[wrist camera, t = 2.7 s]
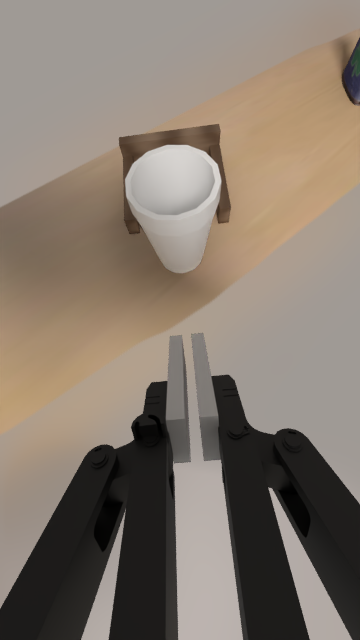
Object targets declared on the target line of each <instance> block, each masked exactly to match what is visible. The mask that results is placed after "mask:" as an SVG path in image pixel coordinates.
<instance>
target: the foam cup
mask: <svg viewBox="0 0 360 640" xmlns="http://www.w3.org/2000/svg"><path fill="white" fill-rule="evenodd" d="M221 182H222V181H221V177H220V172H219V168H218V164H217V163H216V162H215V161H214V160H213V159H212V158H211V157H210V156H209V155H208V154H207V153H206V152H204V151H202V150H199V149H197V148H194V147H191V146H189V145H165V146H162V147H159V148H157V149H154V150H151V151H148V152H146V153H145V154H144V155H143V156H142V157H140V158H139V159H138V160H137V161H135V162H134V163H133V164H132V166H131V168H130V170H129V172H128V174H127V176H126V178H125V187H126V197H127V200H128V203H129V206H130V209H131V211H132V214H133V215H134V217H135V218H136V219H137V221H138V222H139V223H140V225H141V226H142V228H143V230H144V232H145V234H146V235H147V237H148V239H149V241H150V243H151V244H152V246H153V248H154V250H155V252H156V254H157V255H158V257H159V259H160V260H161V262H162V264H163V265H164V266H165V268H166V269H168V270H170V271H172V272H174V273H186V272H189V271H192V270H194V269H195V268H196V267H197V266H198V265H199V264H200V263H201V260H202V257H203V254H204V250H205V247H206V243H207V239H208V235H209V231H210V228H211V224H212V220H213V216H214V215H215V212H216V209H217V206H218V203H219V200H220V192H221Z"/></svg>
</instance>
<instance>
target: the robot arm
mask: <svg viewBox="0 0 360 640" xmlns="http://www.w3.org/2000/svg"><path fill="white" fill-rule="evenodd" d="M191 337H192V348H193V358H194V368H195V379H196V387H197V388H196V389H197V399H198V409H199V419H200V428H201V438H202V447H203V456H204V461H208V460H221V463H222V478H223V483H224V490H225V499H226V506H227V514H228V522H229V530H230V538H231V546H232V554H233V562H234V569H235V577H236V586H237V593H238V602H239V610H240V618H241V625H242V634H243V640H310V639H309V635H308V632H307V628H306V625H305V621H304V617H303V614H302V610H301V606H300V603H299V599H298V595H297V591H296V588H295V585H294V581H293V577H292V573H291V570H290V566H289V562H288V559H287V555H286V551H285V548H284V544H283V540H282V537H281V533H280V529H279V526H278V522H277V518H276V515H275V511H274V508H273V504H272V500H271V496H270V493H269V490H268V487H269V488H272V489H273V491H274V492H275V494H276V496H277V498H278V500H279V502H280V504H281V506H282V508H283V510H284V511H285V513H286V515H287V517H288V519H289V521H290V523H291V524H292V527H293V528H294V530H295V532H296V534H297V536H298V538H299V540H300V542H301V544H302V545H303V547H304V549H305V551H306V553H307V555H308V557H309V559H310V561H311V562H312V564H313V566H314V568H315V570H316V572H317V574H318V576H319V577H320V579H321V581H322V583H323V585H324V587H325V589H326V591H327V593H328V595H329V596H330V598H331V600H332V602H333V604H334V606H335V608H336V610H337V612H338V613H339V615H340V617H341V619H342V621H343V623H344V625H345V627H346V629H347V630H348V632H349V634H350V636H351V638H352V640H360V504H359V503H358V501H357V500H356V499H355V498H354V496H353V495H352V494H351V493H350V491H349V490H348V489H347V487H346V486H345V485H344V484H343V482H342V481H341V480H340V479H339V477H338V476H337V475H336V474H335V472H334V471H333V470H332V468H331V467H330V466H329V465H328V463H327V462H326V461H325V460H324V458H323V457H322V456H321V454H320V453H319V452H318V451H317V449H316V448H315V447H314V446H313V444H312V443H311V442H310V441H309V439H308V438H307V437H306V436H305V435H304V434H302V433H301V432H299V431H297V430H293V429H289V428H288V429H282V430H280V431H277V433H276V434H275V435H273V434H267V433H263V432H260V431H258V430H256V429H254V428H253V427H252V426H250V424H249V423H248V422H247V420H246V417H245V414H244V410H243V407H242V404H241V400H240V397H239V394H238V391H237V387H236V384H235V381H234V380H233V379H232V378H231V377H230V376H229V375H220V376H211V373H210V368H209V362H208V356H207V351H206V345H205V340H204V335H203V333H198V334H191ZM168 365H169V366H168V381H163V382H152V383H151V384H150V386H149V387H148V389H147V391H146V399H145V405H144V411H143V414H142V415H140V416H138V417H137V418H136V419H135V420H134V421H133V423H132V426H131V429H132V432H133V436H134V440H133V441H132V442H130V443H129V444H127V445H124V446H122V447H119V448H117V449H114V448H113V447H112V446H110V445H100V446H97V447H95V448H93V449H92V450H91V451H89V452H88V454H87V455H86V456H85V457H84V459H83V461H82V463H81V465H80V467H79V468H78V470H77V472H76V474H75V476H74V477H73V479H72V481H71V483H70V484H69V486H68V488H67V490H66V492H65V493H64V495H63V497H62V499H61V501H60V502H59V504H58V506H57V508H56V510H55V511H54V513H53V515H52V517H51V519H50V520H49V522H48V524H47V526H46V528H45V529H44V531H43V533H42V535H41V537H40V539H39V540H38V542H37V544H36V546H35V548H34V549H33V551H32V553H31V555H30V556H29V558H28V560H27V562H26V564H25V565H24V567H23V569H22V571H21V573H20V574H19V576H18V578H17V580H16V582H15V583H14V585H13V587H12V589H11V591H10V592H9V594H8V596H7V598H6V600H5V601H4V603H3V605H2V607H1V609H0V640H81V638H82V635H83V632H84V629H85V626H86V623H87V620H88V617H89V615H90V612H91V609H92V605H93V603H94V600H95V597H96V594H97V591H98V588H99V585H100V582H101V580H102V576H103V574H104V571H105V568H106V565H107V562H108V559H109V556H110V553H111V550H112V547H113V544H114V542H115V539H116V535H117V533H118V530H119V527H120V523H121V521H122V518H123V515H124V512H125V509H126V513H125V520H124V528H123V536H122V543H121V551H120V558H119V566H118V573H117V581H116V589H115V596H114V604H113V611H112V619H111V627H110V634H109V640H178V617H177V616H178V615H177V573H176V572H177V571H176V533H175V532H176V527H175V485H174V472H173V461H174V463H184V462H191V460H190V459H191V457H190V438H189V417H188V397H187V377H186V364H185V357H184V349H183V341H182V335H178V336H170V343H169V364H168Z"/></svg>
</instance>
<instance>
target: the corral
mask: <svg viewBox="0 0 360 640" xmlns="http://www.w3.org/2000/svg"><path fill="white" fill-rule="evenodd" d="M219 142H220V127H219V124H215V125H208V126H200V127H193V128H185V129H178V130H171V131H163V132H156V133H148V134H141V135H133V136H126V137H120V138H119V146H120V149H121V152H122V155H123V177H124V221H125V223H126V226H127V228H128V231H129V233H130V234H134V233H140V230H139V222H138V221H137V219H136V218H135V217H134V215H133V214H132V211H131V209H130V206H129V203H128V200H127V197H126V187H125V178H126V176H127V174H128V172H129V170H130V168H131V166H132V164H133V163H134V162H135V161H137V160H138V159H139V158H140V157H142V156H143V155H144V154H145V153H146V152H148V151H151V150H154V149H157V148H159V147H162V146H165V145H189V146H191V147H194V148H197V149H199V150H202V151H204V152H206V153H207V154H208V155H209V156H210V157H211V158H212V159H213V160H214V161H215V162H216V163H217V164H218V168H219V172H220V177H221V181H222V182H221V192H220V200H219V203H218V206H217V209H216V211H217V217H218V223H226V222H229V216H230V210H231V206H230V200H229V195H228V189H227V184H226V178H225V173H224V167H223V162H222V156H221V151H220V145H219Z"/></svg>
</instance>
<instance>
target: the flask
mask: <svg viewBox="0 0 360 640" xmlns="http://www.w3.org/2000/svg"><path fill="white" fill-rule="evenodd" d="M342 82H343V83H342V84H343V86H344V88H345V91H346V93H347V95H348V96H349V99H350V101H352V102H353V103H354V105H360V104H359V102H360V38H359V40H358V42H357V44H356V46H355V48H354V50H353V53H352V55H351V57H350V59H349V61H348V64H347V66H346V68H345V70H344V72H343V74H342Z"/></svg>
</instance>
